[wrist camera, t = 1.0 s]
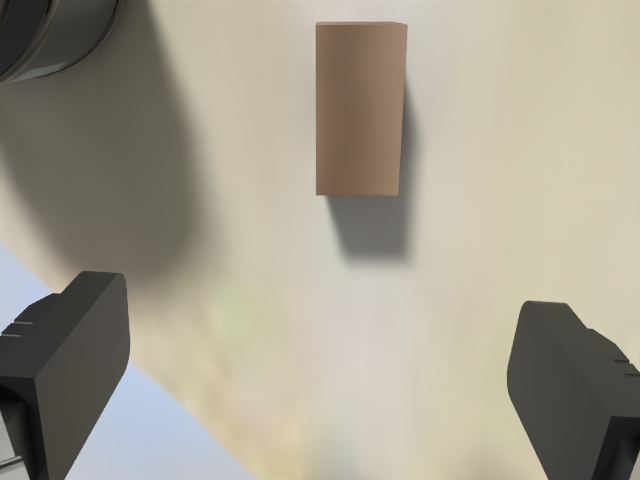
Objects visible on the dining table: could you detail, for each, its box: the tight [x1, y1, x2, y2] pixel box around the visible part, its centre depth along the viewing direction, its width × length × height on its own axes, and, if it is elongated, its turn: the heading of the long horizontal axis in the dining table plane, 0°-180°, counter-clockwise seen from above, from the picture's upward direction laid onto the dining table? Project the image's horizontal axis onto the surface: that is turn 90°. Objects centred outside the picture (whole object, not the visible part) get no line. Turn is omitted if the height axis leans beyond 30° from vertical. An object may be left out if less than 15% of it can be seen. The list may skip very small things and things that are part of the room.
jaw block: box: [316, 22, 408, 195], centre depth 26 cm, size 4×7×5 cm, turn 0°
